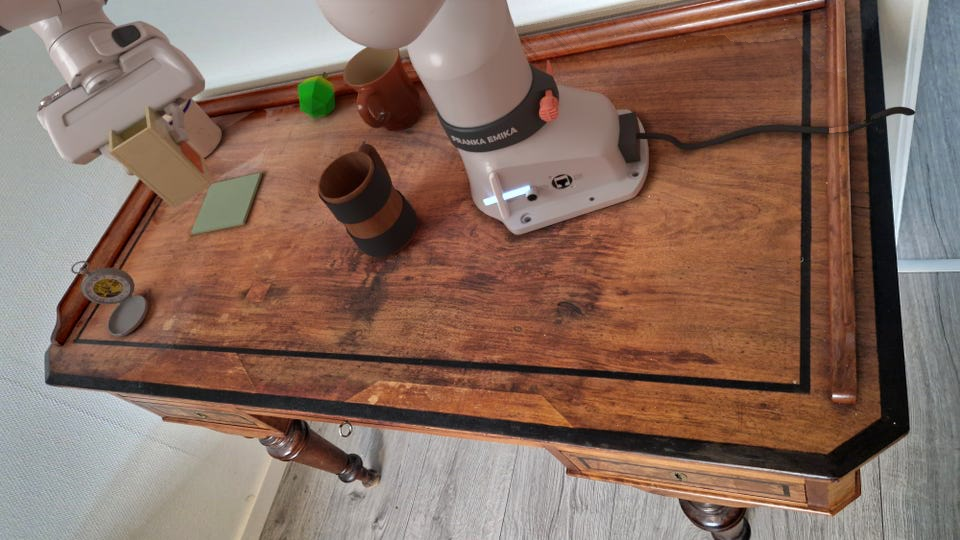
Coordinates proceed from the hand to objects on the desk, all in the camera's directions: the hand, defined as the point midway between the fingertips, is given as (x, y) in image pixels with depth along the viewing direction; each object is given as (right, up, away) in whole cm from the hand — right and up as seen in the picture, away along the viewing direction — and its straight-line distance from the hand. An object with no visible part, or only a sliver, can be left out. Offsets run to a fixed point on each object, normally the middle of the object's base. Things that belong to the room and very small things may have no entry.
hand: (160, 157), depth 84 cm
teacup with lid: (-9, +7, +31) cm, 33 cm away
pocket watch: (-10, -21, +12) cm, 26 cm away
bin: (+2, -3, +5) cm, 6 cm away
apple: (+16, +12, +23) cm, 31 cm away
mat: (+2, -4, +18) cm, 19 cm away
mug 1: (+30, +7, +13) cm, 33 cm away
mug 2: (+30, -9, +2) cm, 31 cm away
